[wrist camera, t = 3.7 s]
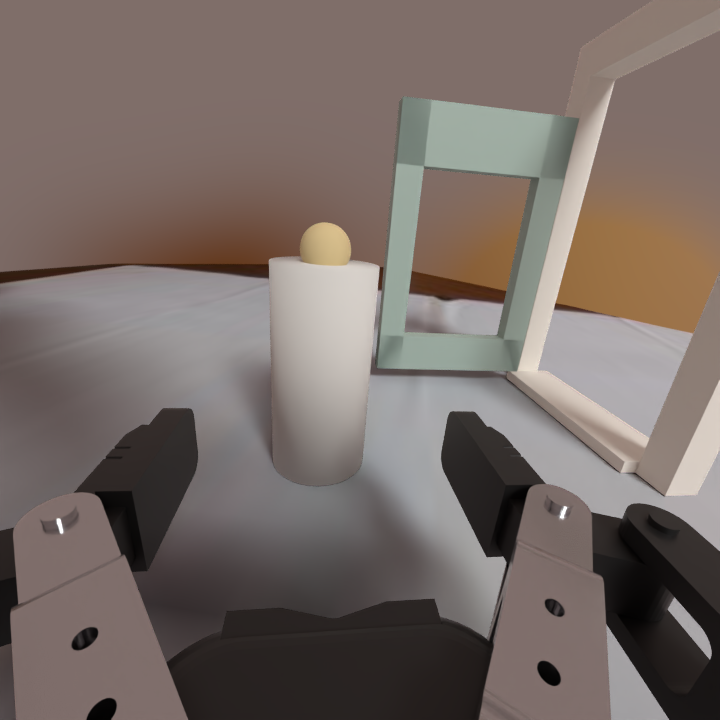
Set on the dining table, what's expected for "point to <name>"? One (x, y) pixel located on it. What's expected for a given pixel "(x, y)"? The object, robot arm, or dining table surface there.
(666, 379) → the dining table surface
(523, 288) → the grey-green rectangular frame
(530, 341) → the door frame
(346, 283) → the white candle
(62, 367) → the dining table surface
